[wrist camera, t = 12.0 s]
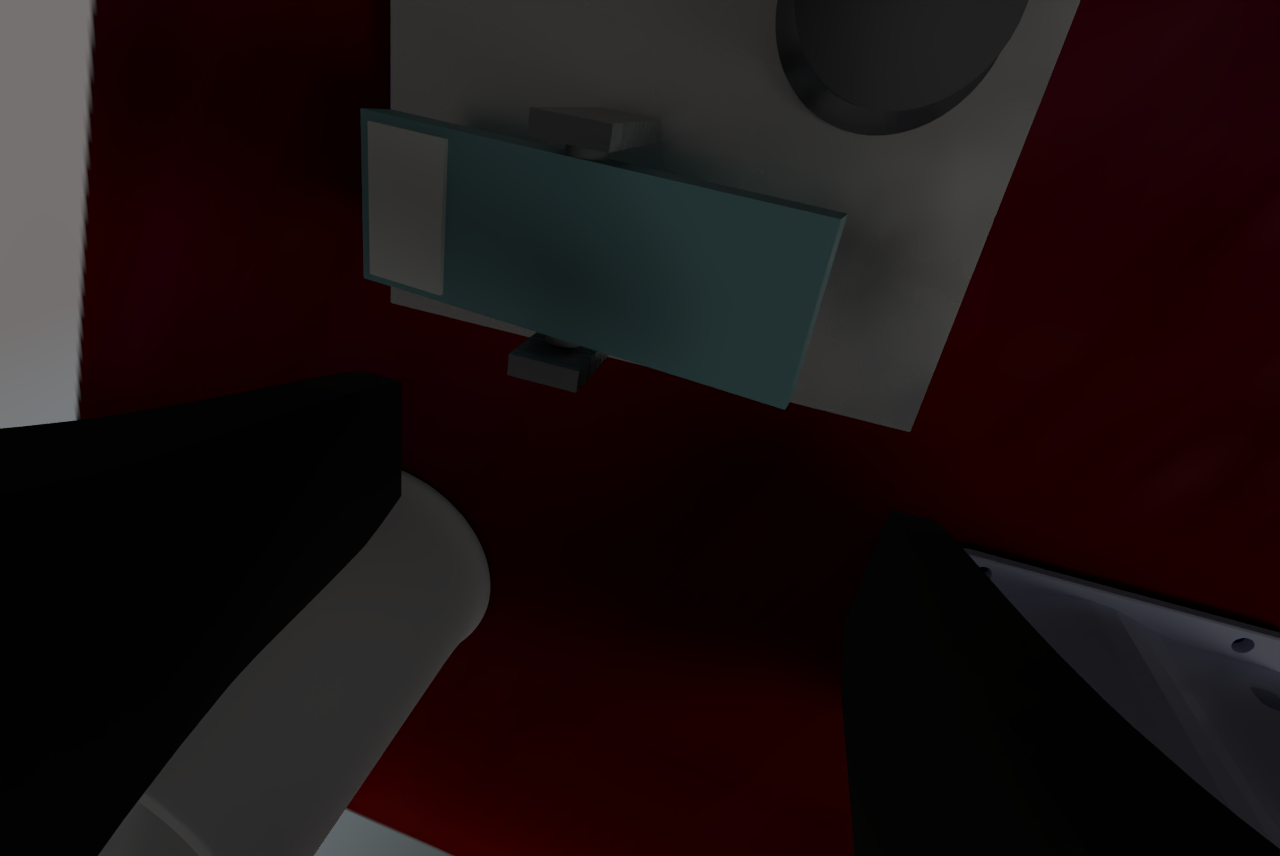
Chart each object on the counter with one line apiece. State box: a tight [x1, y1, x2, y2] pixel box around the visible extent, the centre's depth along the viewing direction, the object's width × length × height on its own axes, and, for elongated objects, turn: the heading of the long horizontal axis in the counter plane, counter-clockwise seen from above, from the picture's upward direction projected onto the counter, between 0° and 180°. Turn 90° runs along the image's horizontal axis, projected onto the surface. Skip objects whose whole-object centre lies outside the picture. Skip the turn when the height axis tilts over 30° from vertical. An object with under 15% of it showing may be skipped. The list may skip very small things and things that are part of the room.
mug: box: [98, 470, 490, 856], centre depth 21 cm, size 12×8×12 cm
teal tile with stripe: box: [360, 108, 848, 410], centre depth 15 cm, size 11×4×1 cm, turn 81°
